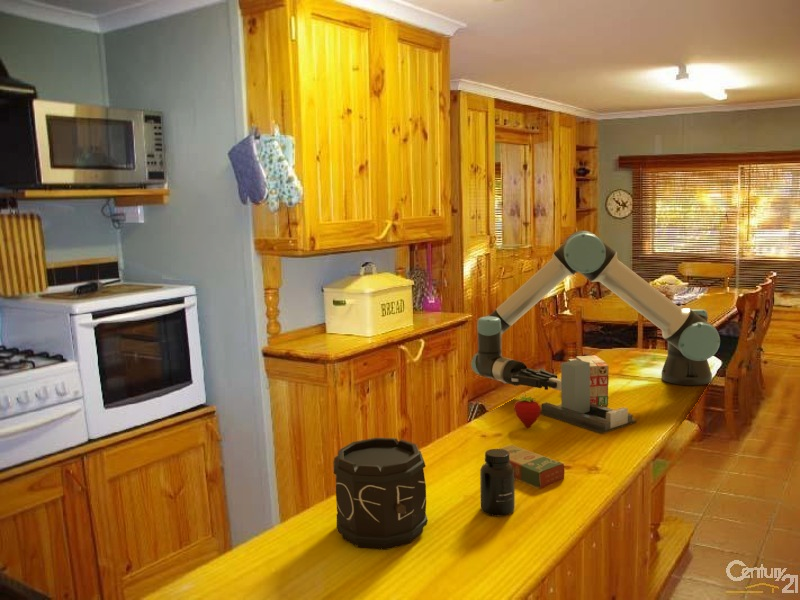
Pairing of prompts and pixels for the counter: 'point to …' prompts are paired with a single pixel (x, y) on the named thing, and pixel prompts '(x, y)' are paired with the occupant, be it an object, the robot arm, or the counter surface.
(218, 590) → the counter surface
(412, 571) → the counter surface
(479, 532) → the counter surface
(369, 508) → the wooden barrel
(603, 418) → the chute
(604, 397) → the stack of blocks
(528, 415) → the strawberry
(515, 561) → the counter surface
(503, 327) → the robot arm
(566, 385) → the grey rectangular block
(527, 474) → the carton
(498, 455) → the supplement bottle
